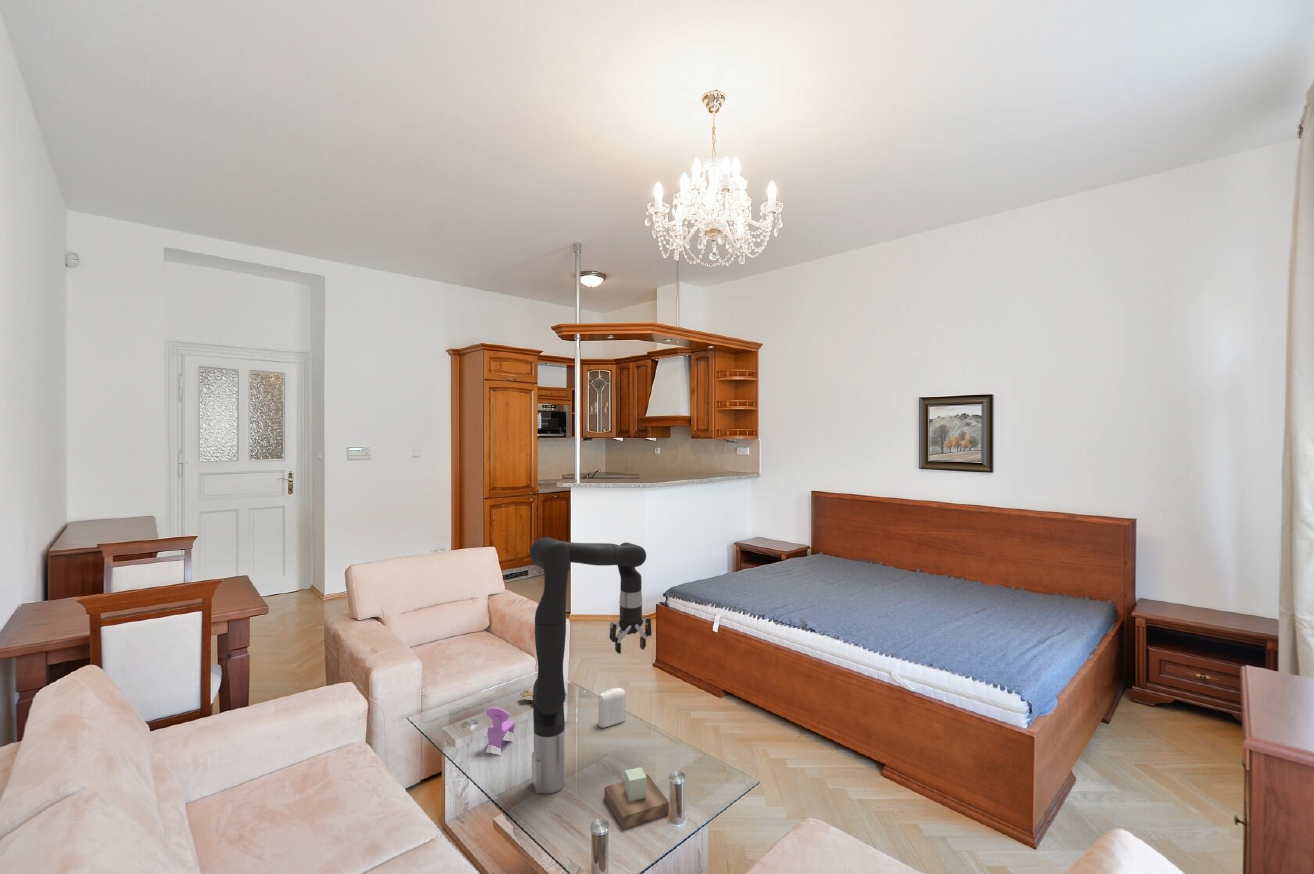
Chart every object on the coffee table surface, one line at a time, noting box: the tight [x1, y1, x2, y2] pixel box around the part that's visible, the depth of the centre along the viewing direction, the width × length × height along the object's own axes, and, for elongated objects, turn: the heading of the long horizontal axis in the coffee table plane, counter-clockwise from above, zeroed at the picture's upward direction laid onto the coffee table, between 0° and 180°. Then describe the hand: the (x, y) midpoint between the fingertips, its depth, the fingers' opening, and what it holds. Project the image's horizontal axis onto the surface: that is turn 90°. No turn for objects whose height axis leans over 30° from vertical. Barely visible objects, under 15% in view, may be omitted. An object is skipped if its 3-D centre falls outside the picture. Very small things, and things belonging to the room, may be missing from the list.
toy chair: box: [485, 706, 516, 749], centre depth 198 cm, size 8×9×15 cm
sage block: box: [624, 766, 647, 801], centre depth 169 cm, size 5×5×6 cm
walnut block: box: [603, 773, 670, 830], centre depth 169 cm, size 14×14×4 cm
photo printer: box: [597, 687, 626, 729], centre depth 214 cm, size 10×4×12 cm, turn 123°
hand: (630, 650), depth 197 cm, fingers open, 8 cm apart
